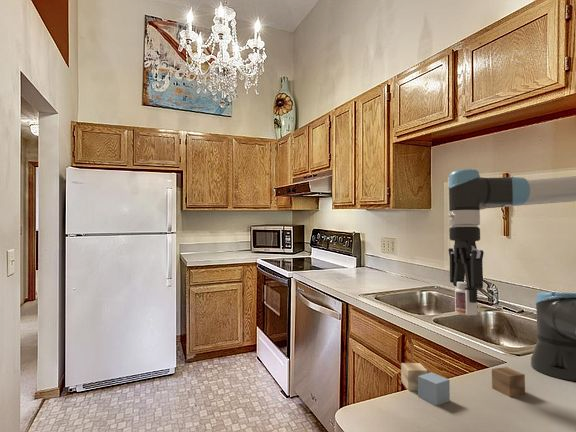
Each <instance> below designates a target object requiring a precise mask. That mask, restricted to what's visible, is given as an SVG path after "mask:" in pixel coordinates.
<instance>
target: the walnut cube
mask: <svg viewBox="0 0 576 432" xmlns="http://www.w3.org/2000/svg"><path fill="white" fill-rule="evenodd" d="M525 379H526V376H525V374H524V373H523V372H520V371H517V370H514V369H512V368H511V367H508V366H503V367H497V368H496V367H495V368H491V388H492V389H493V390H495V391H497V392H499V393H501V394H502V395H505V396H507V397H509V398H511V397H518V396H520V397H521V396H525V395H526V380H525Z"/></svg>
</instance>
